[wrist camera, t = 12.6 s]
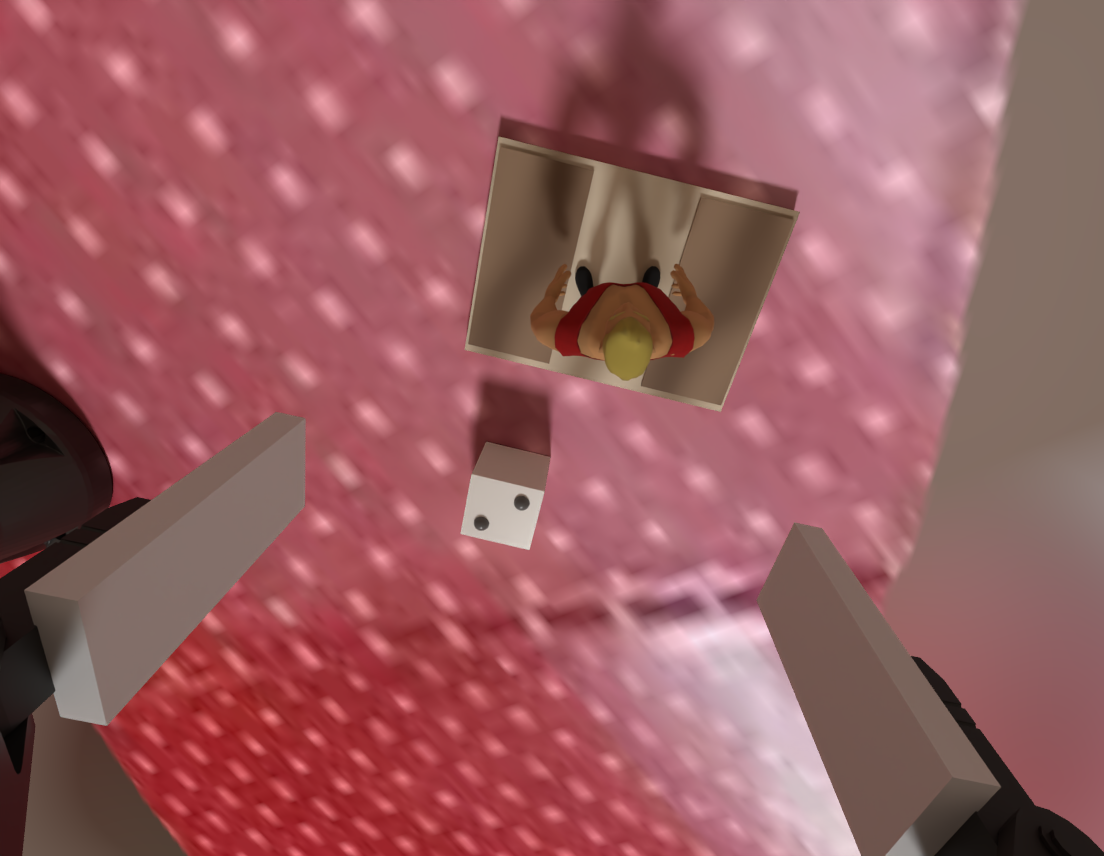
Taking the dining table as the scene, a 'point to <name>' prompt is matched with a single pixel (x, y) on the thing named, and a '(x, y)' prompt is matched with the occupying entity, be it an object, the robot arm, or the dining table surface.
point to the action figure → (623, 321)
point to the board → (621, 261)
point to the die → (505, 495)
